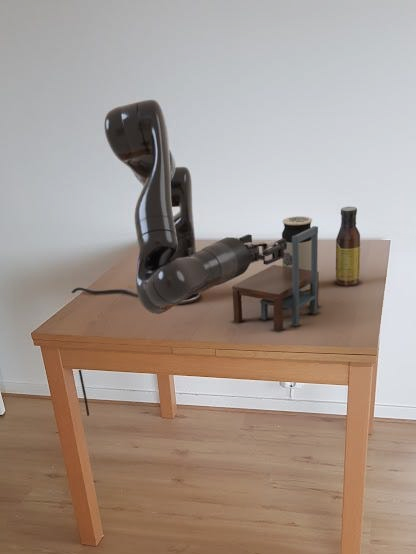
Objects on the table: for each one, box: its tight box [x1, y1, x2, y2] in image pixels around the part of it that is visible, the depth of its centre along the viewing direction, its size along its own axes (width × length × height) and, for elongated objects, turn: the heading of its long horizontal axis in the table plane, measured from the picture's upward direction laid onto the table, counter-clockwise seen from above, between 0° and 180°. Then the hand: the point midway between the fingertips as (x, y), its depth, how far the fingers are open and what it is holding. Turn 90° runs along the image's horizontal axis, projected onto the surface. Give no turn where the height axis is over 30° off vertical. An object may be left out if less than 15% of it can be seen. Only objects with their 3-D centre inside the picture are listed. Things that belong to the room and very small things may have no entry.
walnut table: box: [231, 264, 320, 332], centre depth 165 cm, size 13×18×9 cm
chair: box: [259, 225, 319, 327], centre depth 160 cm, size 10×10×21 cm
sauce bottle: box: [335, 206, 361, 287], centre depth 178 cm, size 7×6×20 cm
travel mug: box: [281, 215, 313, 292], centre depth 178 cm, size 8×8×18 cm
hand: (267, 241), depth 141 cm, fingers open, 8 cm apart
